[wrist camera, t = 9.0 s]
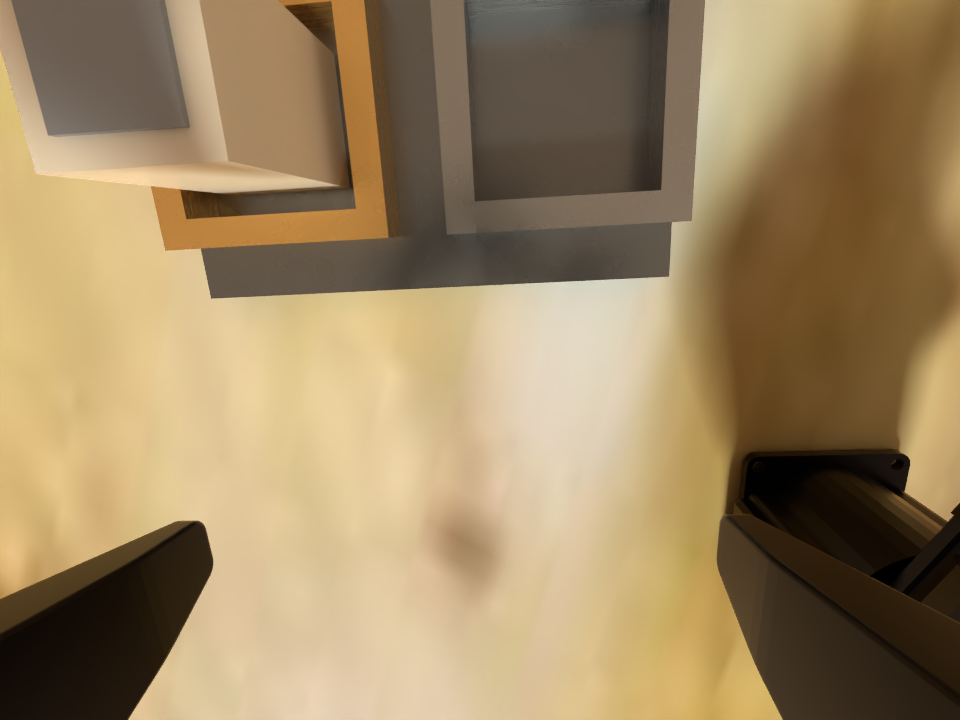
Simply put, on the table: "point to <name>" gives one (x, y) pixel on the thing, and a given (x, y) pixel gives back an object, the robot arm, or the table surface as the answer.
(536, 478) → the table surface
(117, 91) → the plug
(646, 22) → the panel
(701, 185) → the table surface
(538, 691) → the table surface
